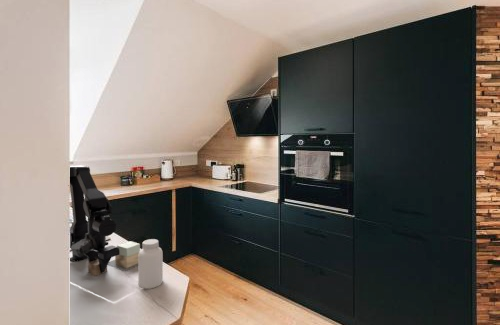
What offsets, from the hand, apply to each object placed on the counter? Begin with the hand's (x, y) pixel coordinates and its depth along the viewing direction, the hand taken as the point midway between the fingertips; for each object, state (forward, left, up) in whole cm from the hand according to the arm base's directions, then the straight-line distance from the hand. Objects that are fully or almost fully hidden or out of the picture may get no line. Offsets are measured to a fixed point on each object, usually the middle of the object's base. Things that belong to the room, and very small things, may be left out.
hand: (97, 270), depth 103 cm
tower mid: (+3, +11, +4) cm, 12 cm away
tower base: (+3, +11, 0) cm, 11 cm away
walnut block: (0, 0, -1) cm, 1 cm away
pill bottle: (+23, +5, -1) cm, 24 cm away
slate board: (+2, +10, -1) cm, 11 cm away
